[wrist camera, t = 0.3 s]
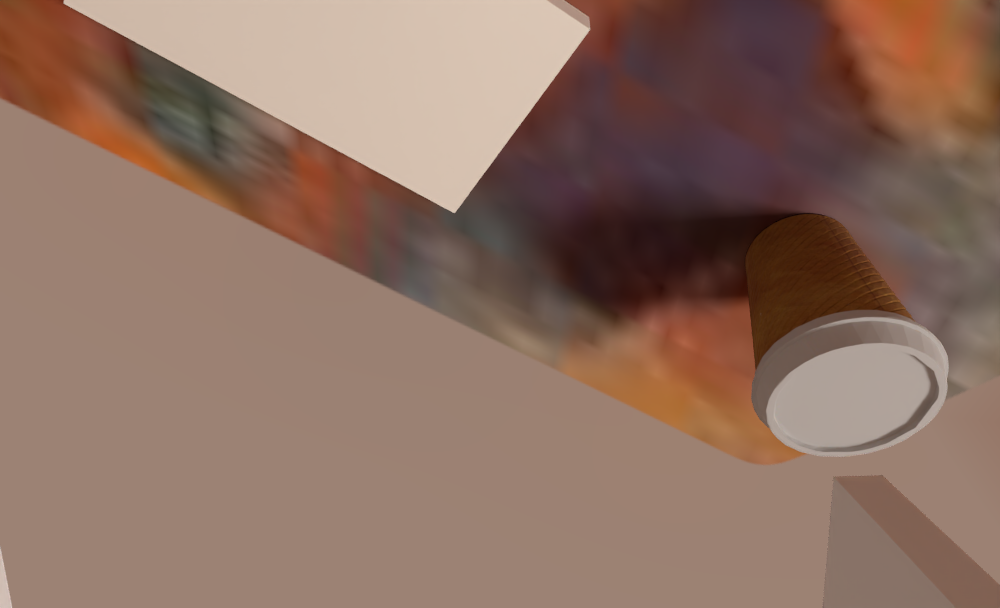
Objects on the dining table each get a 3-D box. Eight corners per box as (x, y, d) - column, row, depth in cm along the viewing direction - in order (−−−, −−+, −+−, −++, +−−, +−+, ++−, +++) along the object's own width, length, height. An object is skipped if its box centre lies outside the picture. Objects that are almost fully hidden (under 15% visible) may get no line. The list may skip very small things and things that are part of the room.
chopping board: (76, -9, 39) (63, 3, 38) (150, -280, 32) (135, -275, 31) (456, 198, 47) (454, 213, 46) (589, 17, 39) (590, 29, 38)
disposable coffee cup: (785, 334, 53) (835, 484, 44) (685, 263, 49) (716, 411, 40) (913, 247, 48) (998, 396, 39) (812, 160, 44) (879, 303, 35)
